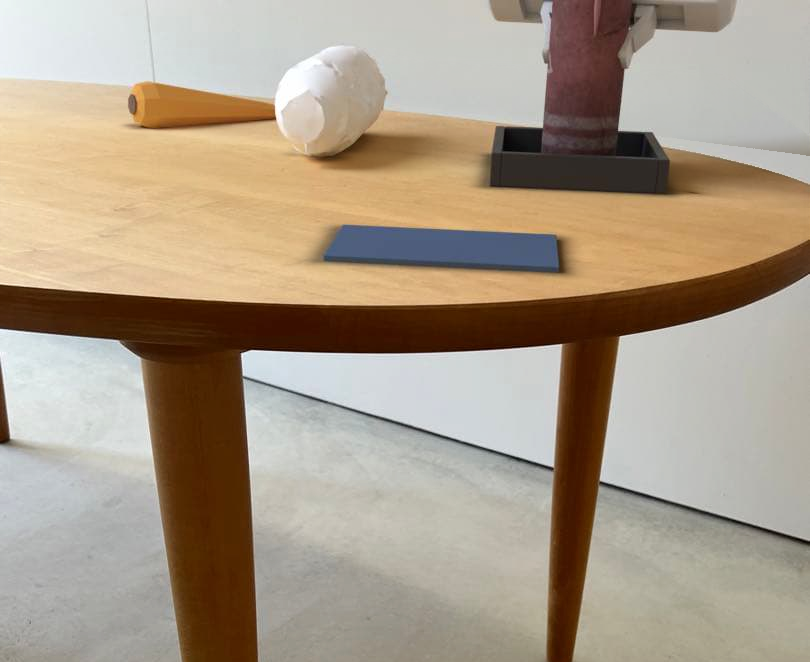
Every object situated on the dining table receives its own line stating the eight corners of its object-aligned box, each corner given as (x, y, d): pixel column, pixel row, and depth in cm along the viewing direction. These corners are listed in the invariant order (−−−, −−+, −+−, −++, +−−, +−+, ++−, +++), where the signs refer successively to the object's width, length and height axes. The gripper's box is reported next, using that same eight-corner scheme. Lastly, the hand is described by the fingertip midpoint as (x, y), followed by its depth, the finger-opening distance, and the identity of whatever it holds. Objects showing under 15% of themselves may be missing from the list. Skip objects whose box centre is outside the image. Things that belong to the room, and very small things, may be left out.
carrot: (136, 138, 107) (143, 94, 104) (120, 113, 109) (126, 69, 106) (316, 144, 118) (327, 105, 114) (298, 122, 120) (308, 82, 117)
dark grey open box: (648, 164, 98) (652, 132, 96) (665, 196, 86) (670, 160, 84) (493, 157, 99) (495, 125, 97) (489, 188, 87) (491, 152, 85)
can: (552, 175, 89) (568, -21, 82) (531, 160, 94) (545, -25, 87) (624, 174, 89) (646, -20, 83) (600, 160, 95) (619, -23, 88)
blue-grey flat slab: (555, 242, 72) (556, 234, 72) (558, 275, 65) (559, 266, 65) (342, 231, 73) (342, 224, 73) (323, 263, 66) (323, 255, 66)
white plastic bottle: (256, 169, 91) (251, 65, 88) (304, 132, 108) (302, 43, 104) (351, 174, 91) (350, 69, 87) (385, 136, 107) (386, 46, 103)
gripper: (503, -113, 91) (453, 25, 88) (756, -112, 84) (711, 38, 81) (517, -52, 97) (471, 80, 94) (756, -46, 90) (714, 97, 87)
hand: (584, 61), depth 87 cm, fingers closed on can, 4 cm apart
